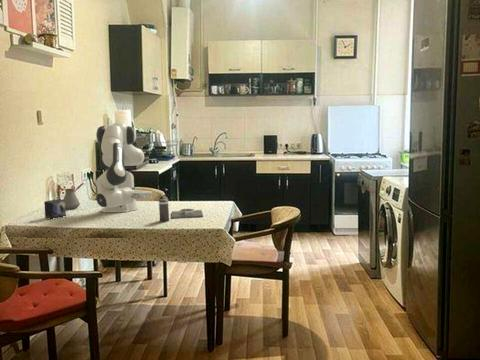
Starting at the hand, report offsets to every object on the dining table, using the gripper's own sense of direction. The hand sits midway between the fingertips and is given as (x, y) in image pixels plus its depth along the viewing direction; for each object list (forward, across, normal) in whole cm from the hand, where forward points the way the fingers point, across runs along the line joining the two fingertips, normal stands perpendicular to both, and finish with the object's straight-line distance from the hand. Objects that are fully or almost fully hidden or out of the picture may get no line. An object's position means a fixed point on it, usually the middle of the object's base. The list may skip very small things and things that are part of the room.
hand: (146, 192), depth 263 cm
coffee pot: (+11, +84, +17) cm, 86 cm away
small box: (-16, +64, +18) cm, 68 cm away
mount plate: (+31, 0, +18) cm, 36 cm away
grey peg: (+12, 0, +18) cm, 22 cm away
